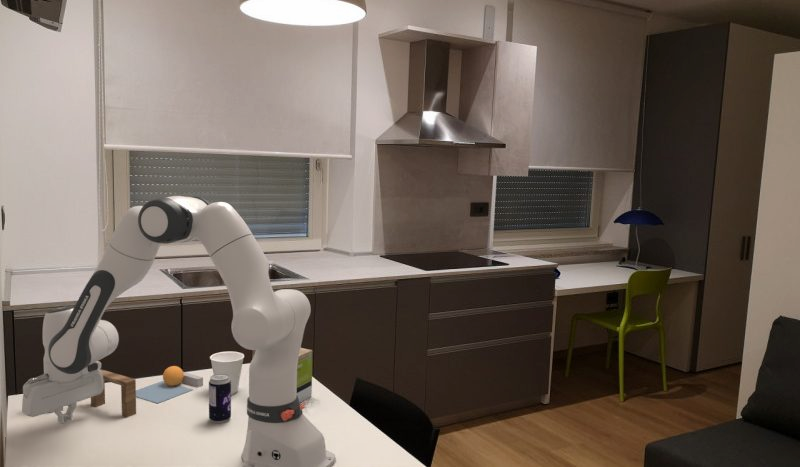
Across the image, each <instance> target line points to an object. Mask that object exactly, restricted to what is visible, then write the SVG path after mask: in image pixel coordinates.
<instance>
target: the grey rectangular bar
mask: <svg viewBox="0 0 800 467" xmlns="http://www.w3.org/2000/svg"><path fill="white" fill-rule="evenodd" d="M183 373H184V377H183V380H182V382H181V383H182V384H185V385H186V384H187V385H189V386H193V387H197V388H200V387H202V386H204V377H203V376H199V375H196V374H192V373H188V372H184V371H183ZM181 383H180V384H181Z"/></svg>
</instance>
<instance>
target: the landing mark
mask: <svg viewBox="0 0 800 467" xmlns="http://www.w3.org/2000/svg"><path fill="white" fill-rule="evenodd" d="M191 391H194V388H189V387H186V386H184V385H183V386H182V385H180V384H178V385H176V386H169V385H167V384H166V383H165V382H164V380H161V381H159V382H156V383H153V384H151V385H150V384H149V385H148V386H145V387H142V388H139V389H136V398H138V399H142V400H144V401H146V402H147V401H148V402H151V403H154V404H160V403H163V402H167V401H168V400H171V399H173V398H175V397H178V396H181V395H184V394H186V393H189V392H191Z"/></svg>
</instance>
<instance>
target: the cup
mask: <svg viewBox="0 0 800 467" xmlns="http://www.w3.org/2000/svg"><path fill="white" fill-rule="evenodd" d="M244 358H245V354H244V353H243V352H238V351H220V352H216V353H213V354H212V355H210V356H209V360H210V361H211V363H210V364H211V368H212V373H213V374H212V375H215V374H227V375H229V378H230V380H231V396H232V395H234V394H236V393H237V392H238V390H239V386H240V379H241V374H242V369H243V368H242V367H243V362H244Z"/></svg>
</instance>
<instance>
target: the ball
mask: <svg viewBox="0 0 800 467" xmlns="http://www.w3.org/2000/svg"><path fill="white" fill-rule="evenodd" d="M183 372H184V370H183V369H182V368H181V367H179V366H178V365H171V366H168V367H167V368H166V369H164V372H163V375H162V381H164V382H165V383H166V384H167V385H169V386H176V385H180V384H181V382H182V380H183V377H184V373H183Z"/></svg>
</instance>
